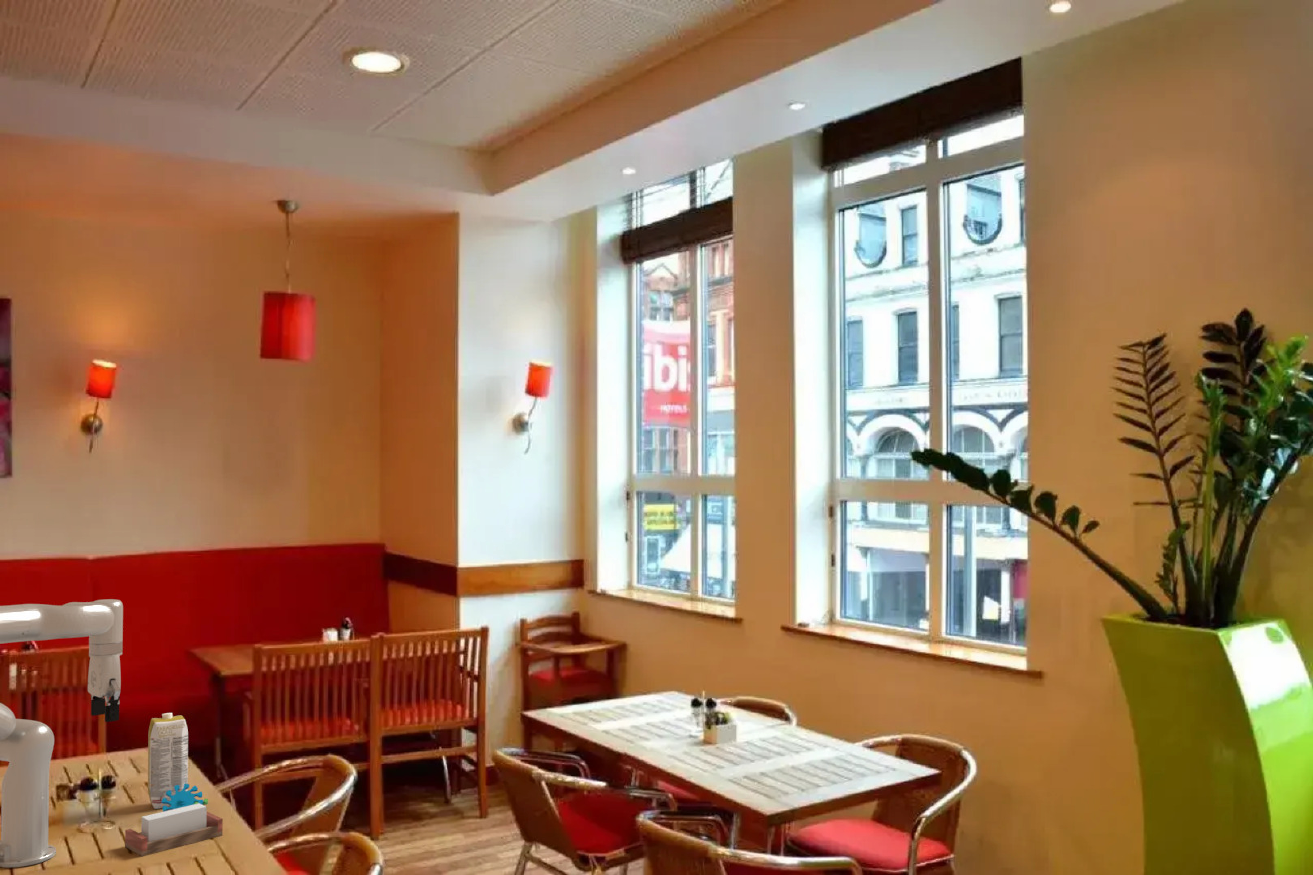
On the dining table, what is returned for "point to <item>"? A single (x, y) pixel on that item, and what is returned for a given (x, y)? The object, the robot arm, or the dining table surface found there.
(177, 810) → the long white brick
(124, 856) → the dining table surface
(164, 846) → the cradle
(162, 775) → the juice carton
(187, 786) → the blue spiky virus model
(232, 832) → the dining table surface
